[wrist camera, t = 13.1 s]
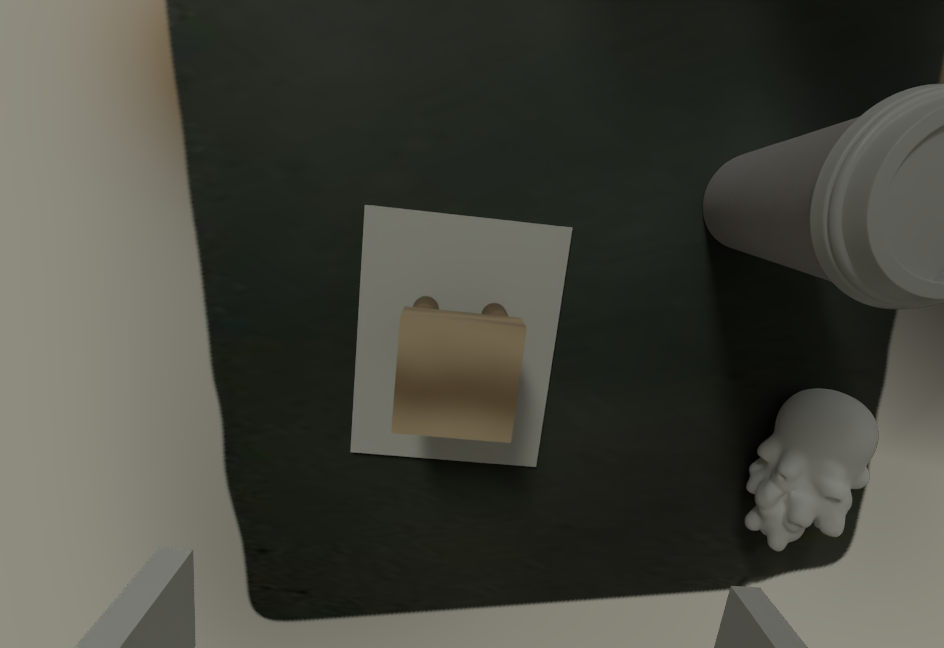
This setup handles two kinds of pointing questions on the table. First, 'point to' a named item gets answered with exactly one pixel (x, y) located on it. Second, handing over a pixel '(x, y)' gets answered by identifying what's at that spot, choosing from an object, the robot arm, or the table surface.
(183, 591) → the robot arm
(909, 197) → the coffee cup
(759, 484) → the figurine
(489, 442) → the mat
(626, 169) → the table surface
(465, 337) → the wooden stool
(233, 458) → the table surface
